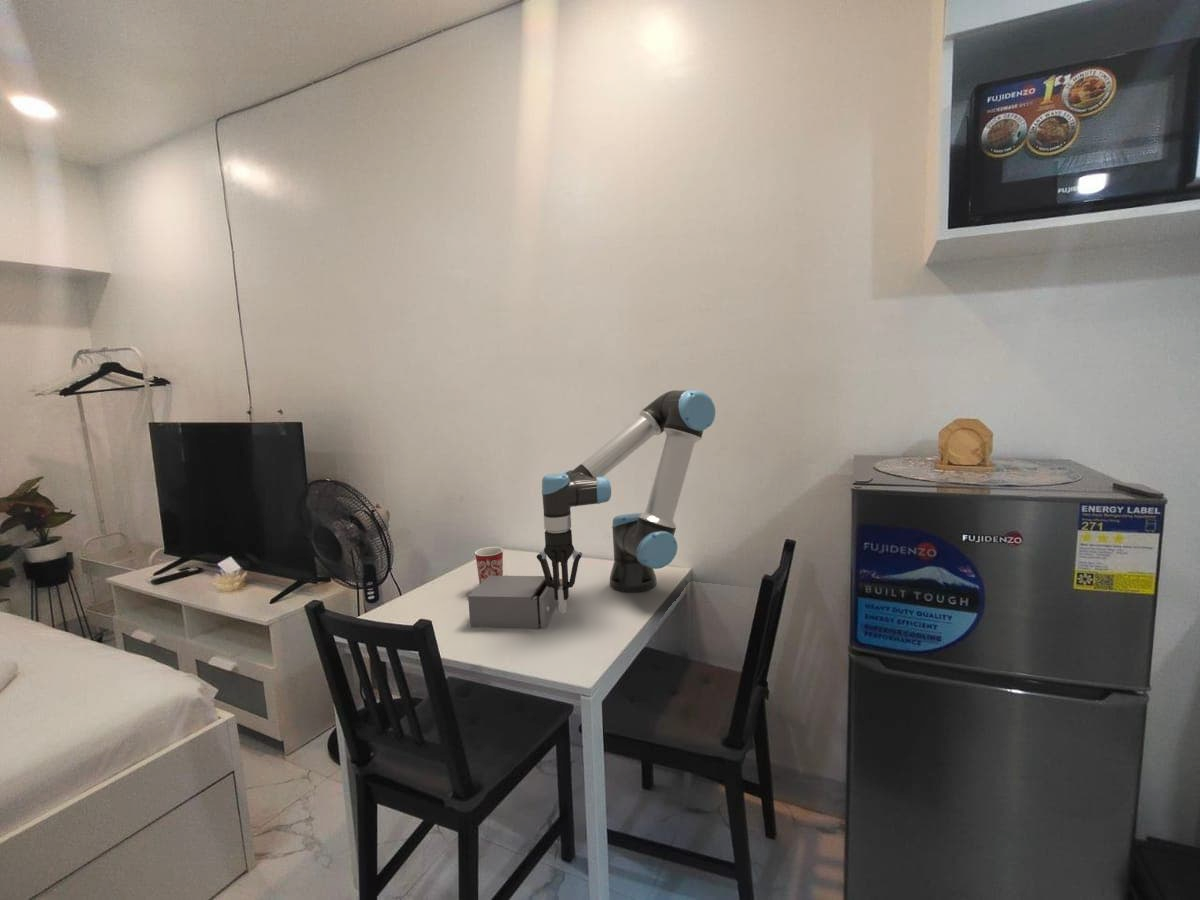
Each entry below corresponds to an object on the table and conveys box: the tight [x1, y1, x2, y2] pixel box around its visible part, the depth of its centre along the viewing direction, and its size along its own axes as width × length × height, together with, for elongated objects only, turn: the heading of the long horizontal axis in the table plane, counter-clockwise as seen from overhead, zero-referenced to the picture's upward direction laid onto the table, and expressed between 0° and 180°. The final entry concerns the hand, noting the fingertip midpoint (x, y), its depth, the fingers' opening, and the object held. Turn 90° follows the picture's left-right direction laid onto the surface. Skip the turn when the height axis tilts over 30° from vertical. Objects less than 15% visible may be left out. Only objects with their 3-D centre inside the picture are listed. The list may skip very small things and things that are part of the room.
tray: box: [538, 577, 559, 629], centre depth 153 cm, size 20×15×8 cm
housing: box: [467, 575, 547, 630], centre depth 154 cm, size 20×16×9 cm
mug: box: [474, 546, 504, 585], centre depth 175 cm, size 13×9×14 cm
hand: (562, 610), depth 152 cm, fingers closed
